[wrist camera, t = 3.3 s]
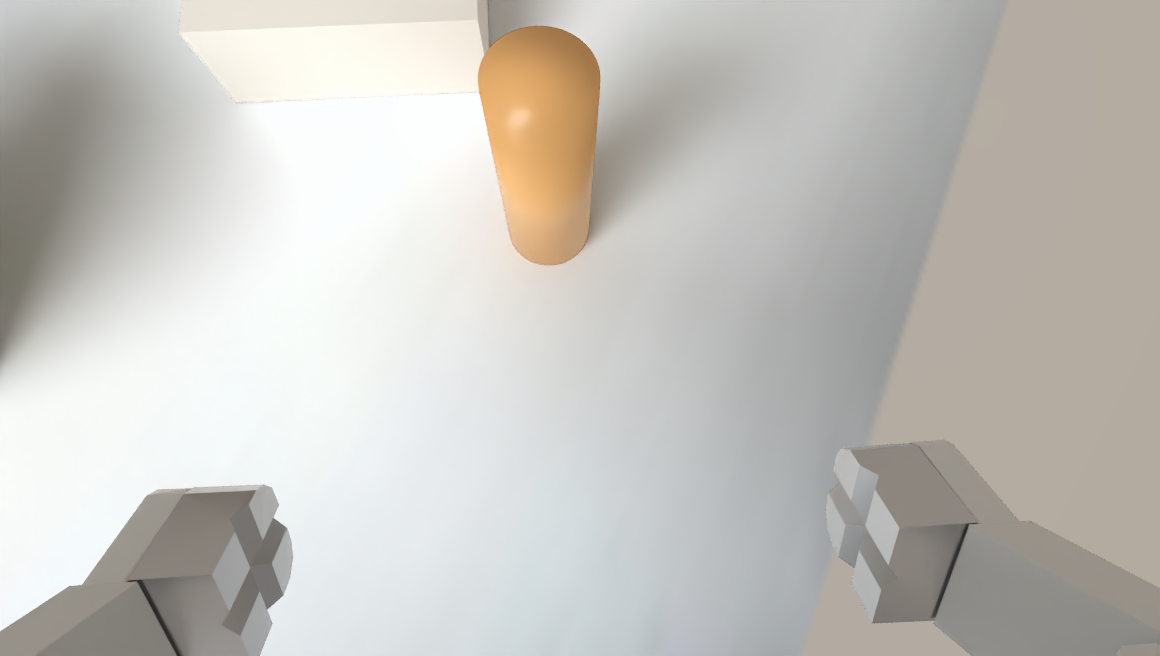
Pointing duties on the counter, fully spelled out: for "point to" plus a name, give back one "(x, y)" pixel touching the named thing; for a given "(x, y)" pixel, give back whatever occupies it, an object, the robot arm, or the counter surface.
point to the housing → (337, 46)
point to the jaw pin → (542, 137)
